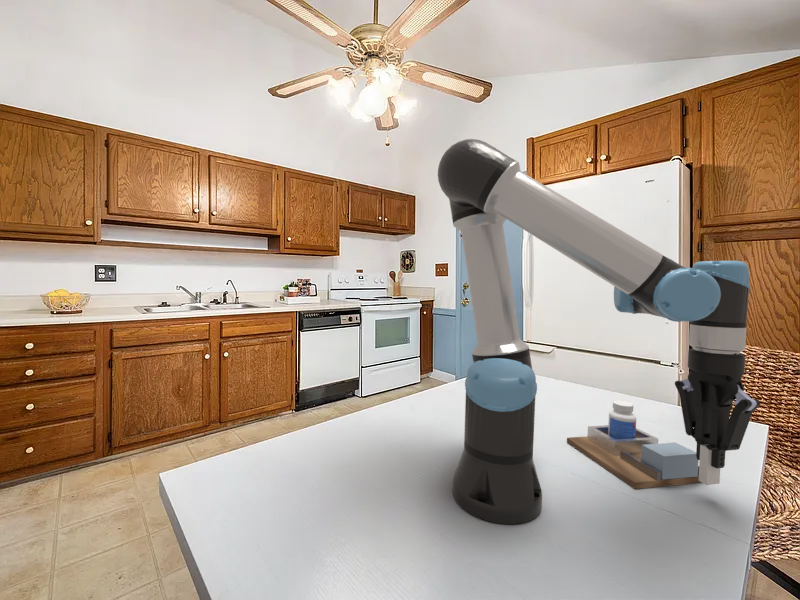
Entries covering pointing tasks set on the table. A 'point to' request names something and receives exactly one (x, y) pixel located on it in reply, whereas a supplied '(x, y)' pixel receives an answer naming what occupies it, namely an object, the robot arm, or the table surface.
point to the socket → (619, 440)
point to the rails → (642, 465)
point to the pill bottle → (622, 421)
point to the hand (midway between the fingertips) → (708, 481)
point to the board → (623, 466)
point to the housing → (671, 460)
